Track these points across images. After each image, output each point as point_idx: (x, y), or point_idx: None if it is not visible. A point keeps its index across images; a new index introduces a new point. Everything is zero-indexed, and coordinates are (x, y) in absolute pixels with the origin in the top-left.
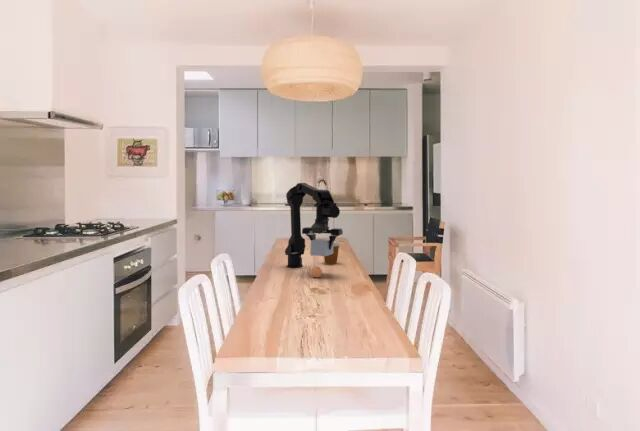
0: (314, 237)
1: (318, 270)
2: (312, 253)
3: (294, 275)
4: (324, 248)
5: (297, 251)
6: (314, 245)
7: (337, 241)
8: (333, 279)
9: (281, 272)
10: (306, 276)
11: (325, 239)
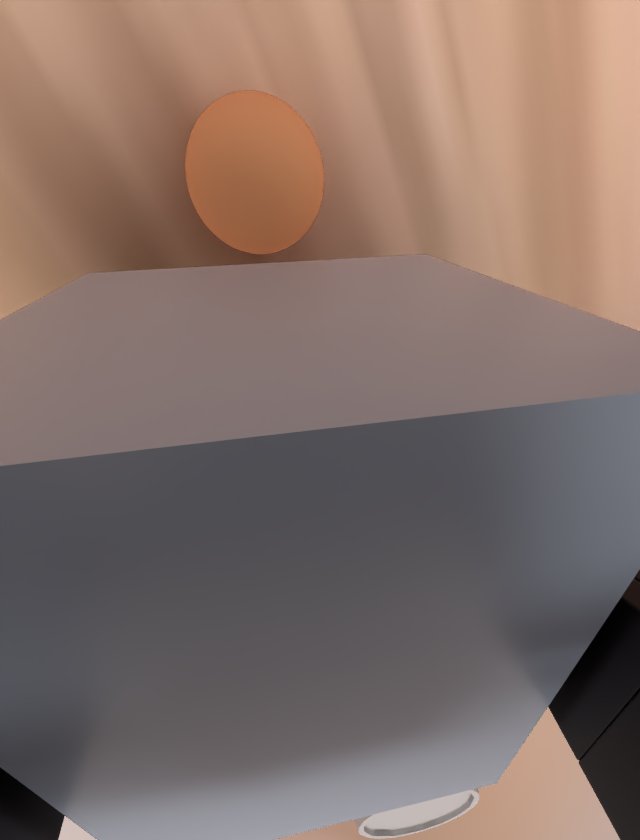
0: (628, 754)
1: (201, 126)
2: (404, 260)
3: (500, 182)
4: (52, 322)
5: None
6: (438, 319)
7: (379, 834)
8: (29, 168)
9: (632, 263)
10: (373, 191)
11: (283, 790)
